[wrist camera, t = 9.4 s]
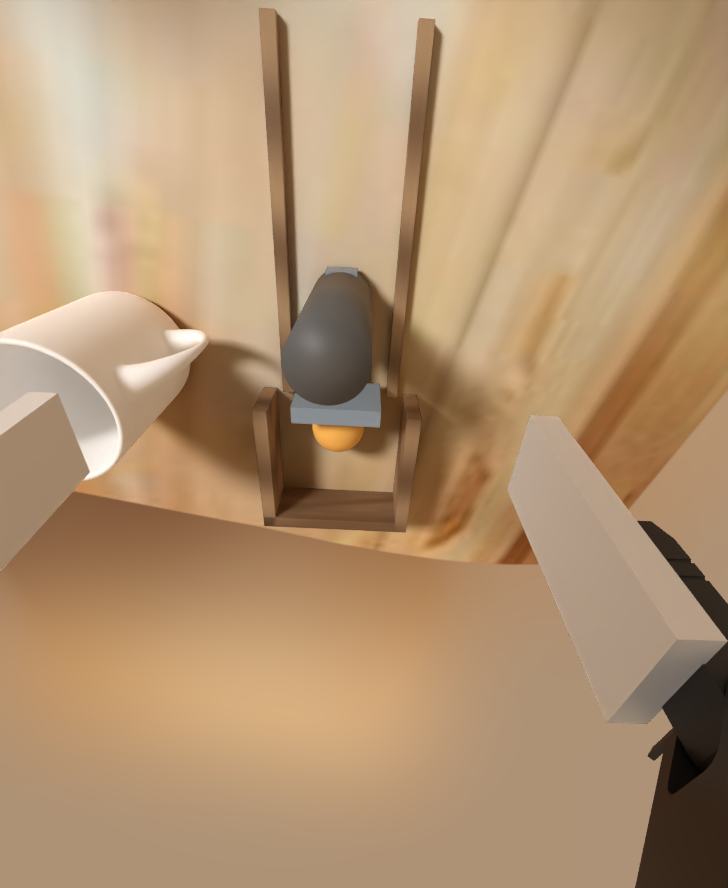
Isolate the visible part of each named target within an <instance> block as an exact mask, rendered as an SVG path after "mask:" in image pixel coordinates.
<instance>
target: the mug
mask: <svg viewBox="0 0 728 888" xmlns="http://www.w3.org/2000/svg"><path fill="white" fill-rule="evenodd" d="M209 341H210V338H209V336H208V335H207V334H206V333H205V332H203V331H200V330H193V329H179V328H178V326H177V325H176V324H175V322H174V321H173V320H172V319H171V318H170V317H169V316H168V315H167V314H166V313H165V312H164V311H163V310H162V309H160V308H159V307H158V306H156V305H155V304H153V303H151V302H150V301H148V300H146V299H144V298H142V297H139V296H137V295H134V294H131V293H126V292H119V291H108V292H99V293H95V294H91V295H89V296H86V297H83V298H81V299H79V300H76V301H74V302H71V303H69V304H67V305H64V306H62V307H59V308H57V309H55V310H52V311H50V312H47V313H45V314H43V315H40V316H38V317H35V318H33V319H31V320H28V321H26V322H24V323H21V324H19V325H16V326H14V327H12V328H9V329H7V330H4V331H2V332H0V411H1V410H3V409H4V408H6V407H7V406H9V405H10V404H12V403H13V402H15V401H16V400H18V399H19V398H21V397H22V396H24V395H25V394H27V393H28V392H46V393H58V395H59V397H60V400H61V402H62V405H63V407H64V409H65V412H66V414H67V417H68V419H69V422H70V424H71V427H72V429H73V431H74V434H75V436H76V439H77V441H78V444H79V446H80V449H81V451H82V453H83V456H84V458H85V461H86V463H87V466H88V468H89V471H90V473H89V474H88V475H87V476H86V477H85V478H84V480H83V481H85V480H90V479H93V478H96V477H99V476H101V475H103V474H105V473H106V472H108V471H109V470H111V469H112V468H113V467H114V466H115V465H116V464H117V462H118V461H119V460H120V459H121V458H122V457H123V456H124V455H125V453H126V452H127V451H128V450H129V449H130V448H131V447H132V446H133V444H134V443H135V442H136V441H137V440H138V439H139V438H140V437H141V435H142V434H143V433H144V432H145V431H146V430H147V429H148V428H149V426H150V425H151V424H152V423H153V422H154V421H155V420H156V419H157V417H158V416H159V415H160V414H161V413H162V412H163V411H164V410H165V408H166V407H167V406H168V405H169V404H170V403H171V402H172V401H173V399H174V398H175V397H176V396H177V395H178V394H179V392H180V391H181V389H182V388H183V387H184V385H185V383H186V381H187V378H188V375H189V372H190V363H191V362H192V361H193V360H194V359H196V357H197V356H198V355H199V354H200V353H201V352H202V351H203V350H204V349H205V347H206V346H207V345H208V343H209Z"/></svg>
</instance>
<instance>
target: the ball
mask: <svg viewBox="0 0 728 888" xmlns="http://www.w3.org/2000/svg"><path fill="white" fill-rule="evenodd" d="M312 428H313V433H314V436H315V438H316V440H317V441H318V442H319V444H320V445H322V446H323V447H324V448H326V449H328V450H330V451H335V452H342V451H346V450H349V449H351V448H353V447H354V446H355V445H356V444H357V443H358V442H359V441H360V439H361V438H362V435H363V432H364V427H360V426H340V425H320V424H312Z"/></svg>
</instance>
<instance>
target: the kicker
mask: <svg viewBox="0 0 728 888" xmlns="http://www.w3.org/2000/svg"><path fill="white" fill-rule="evenodd" d="M281 367H282V372H283V375H284V377H285V380H286V381H287V383H288V385H289V386H290V387H291V389H292V390H293V391H294V392H295V395H294V398H293V401H292V404H291V407H290V411H291V423H299V424H320V425H340V426H360V427H380V420H381V397H380V384H372V383H367V382H368V380H369V377H370V374H371V292H370V288H369V286H368V284H367V282H366V280H365V279H364V278H363V277H362V276H361V275H360V274H359V273H358V268H346V267H327V269H326V271H325V273H324V274H323V275H321V277H320V278H319V279H318V281H317V282H316V284H315V286H314V288H313V290H312V292H311V294H310V296H309V298H308V300H307V301H306V303H305V305H304V307H303V309H302V311H301V313H300V315H299V317H298V319H297V321H296V323H295V325H294V327H293V328H292V330H291V332H290V334H289V336H288V338H287V340H286V342H285V344H284V346H283V350H282V354H281Z"/></svg>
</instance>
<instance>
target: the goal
mask: <svg viewBox="0 0 728 888" xmlns="http://www.w3.org/2000/svg"><path fill="white" fill-rule="evenodd" d="M252 419H253V428H254V437H255V446H256V455H257V463H258V472H259V481H260V490H261V499H262V508H263V517H264V526H277V527H299V528H321V529H343V530H365V531H387V532H406V527H407V520H408V513H409V506H410V499H411V492H412V485H413V478H414V471H415V464H416V457H417V450H418V443H419V436H420V429H421V422H422V419H421V414H420V409H419V404H418V400H417V395H407V394H404V398H403V407H402V416H401V425H400V434H399V442H398V451H397V460H396V469H395V478H394V487H393V493H391V492H369V491H348V490H327V489H306V488H284V481H283V467H282V453H281V439H280V425H279V411H278V397H277V388H268V387H264V388H263V390H262V392H261V394H260V396H259V398H258V400H257V402H256V404H255V406H254V408H253V410H252Z"/></svg>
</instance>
